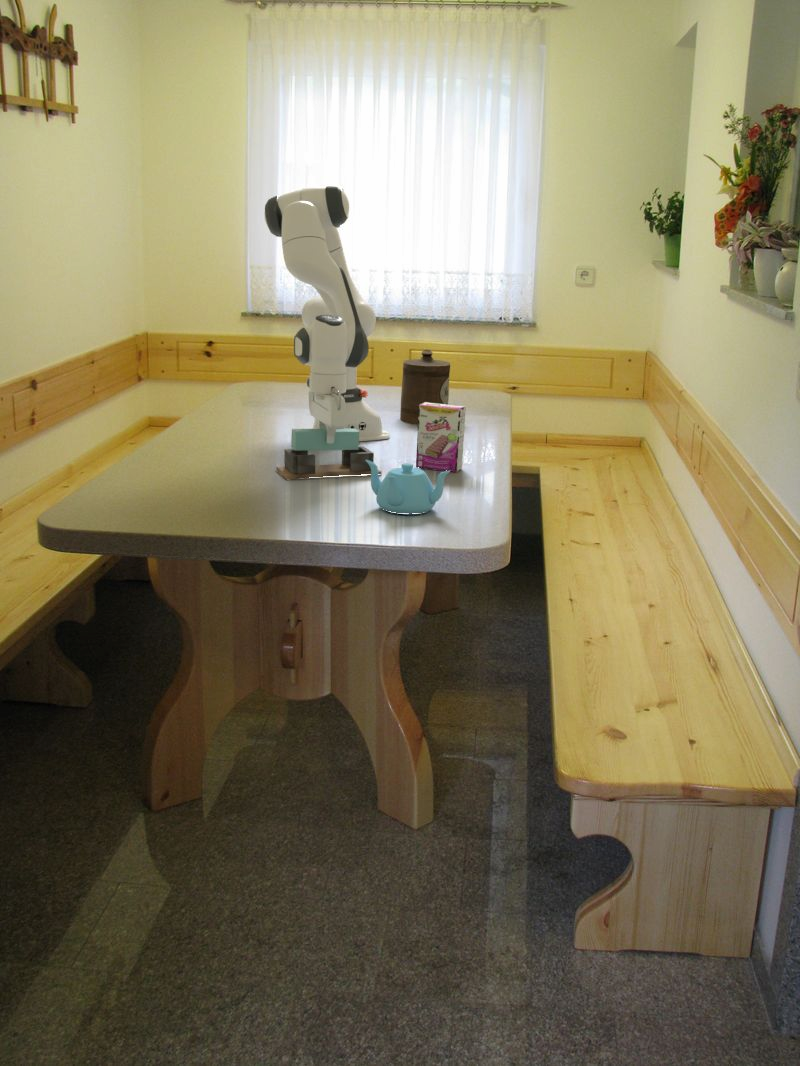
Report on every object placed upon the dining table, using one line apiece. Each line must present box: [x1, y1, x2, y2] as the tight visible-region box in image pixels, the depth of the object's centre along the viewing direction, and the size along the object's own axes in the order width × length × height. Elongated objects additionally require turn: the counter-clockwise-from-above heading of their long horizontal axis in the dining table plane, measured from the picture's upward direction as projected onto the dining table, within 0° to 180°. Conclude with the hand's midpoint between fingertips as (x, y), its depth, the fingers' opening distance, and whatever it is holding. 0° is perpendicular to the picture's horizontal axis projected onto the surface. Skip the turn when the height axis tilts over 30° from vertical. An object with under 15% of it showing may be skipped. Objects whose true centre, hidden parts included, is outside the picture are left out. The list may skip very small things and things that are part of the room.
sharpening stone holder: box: [276, 445, 382, 480], centre depth 272 cm, size 24×10×6 cm, turn 110°
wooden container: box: [399, 349, 451, 425], centre depth 343 cm, size 15×15×22 cm
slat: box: [290, 428, 360, 451], centre depth 270 cm, size 16×4×4 cm, turn 109°
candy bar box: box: [415, 402, 466, 473], centre depth 279 cm, size 11×5×16 cm, turn 71°
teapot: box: [366, 460, 451, 514], centre depth 241 cm, size 15×15×10 cm
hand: (326, 440), depth 270 cm, fingers closed on slat, 4 cm apart
